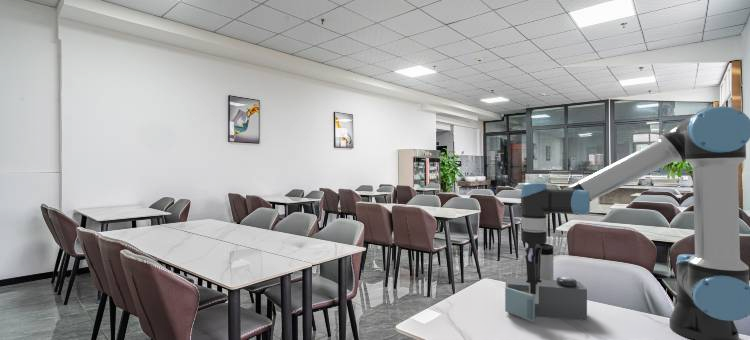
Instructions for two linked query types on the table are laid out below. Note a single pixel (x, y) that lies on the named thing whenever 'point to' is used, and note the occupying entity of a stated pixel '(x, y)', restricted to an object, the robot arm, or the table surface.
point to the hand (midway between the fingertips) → (533, 302)
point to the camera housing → (556, 297)
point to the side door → (520, 304)
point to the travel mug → (546, 262)
